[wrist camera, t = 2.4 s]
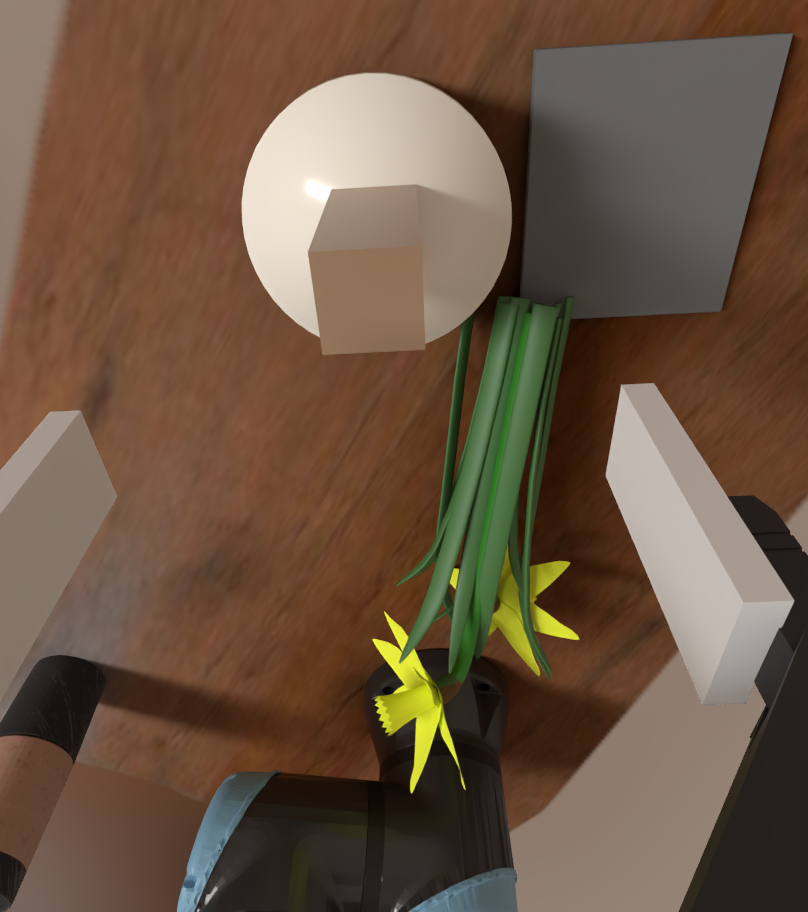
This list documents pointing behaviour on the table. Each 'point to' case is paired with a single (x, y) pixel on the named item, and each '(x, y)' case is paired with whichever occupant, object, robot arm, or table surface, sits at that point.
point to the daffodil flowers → (485, 520)
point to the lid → (376, 213)
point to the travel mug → (40, 757)
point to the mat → (644, 170)
